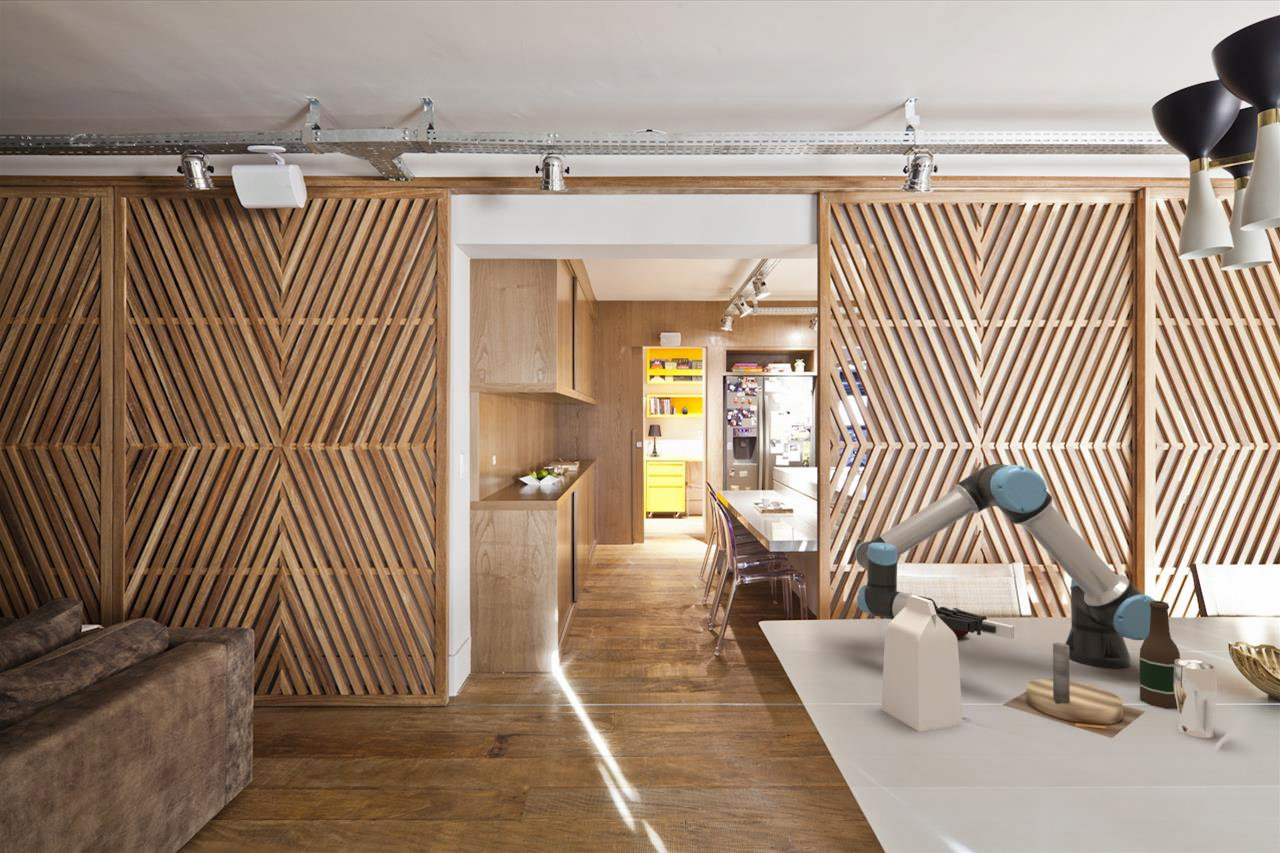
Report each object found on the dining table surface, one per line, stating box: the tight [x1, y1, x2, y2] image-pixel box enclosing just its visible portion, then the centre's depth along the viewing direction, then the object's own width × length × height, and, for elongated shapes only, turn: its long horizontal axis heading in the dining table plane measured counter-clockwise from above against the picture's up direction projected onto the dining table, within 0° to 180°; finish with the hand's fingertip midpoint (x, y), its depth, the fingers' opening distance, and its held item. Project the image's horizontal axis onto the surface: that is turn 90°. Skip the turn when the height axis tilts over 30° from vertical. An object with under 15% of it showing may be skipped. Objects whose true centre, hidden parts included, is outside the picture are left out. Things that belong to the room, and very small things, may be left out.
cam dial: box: [1025, 642, 1124, 725], centre depth 148 cm, size 18×18×15 cm
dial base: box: [1002, 691, 1146, 739], centre depth 148 cm, size 21×21×2 cm
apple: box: [951, 629, 969, 639], centre depth 205 cm, size 7×8×8 cm
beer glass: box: [1173, 658, 1218, 739], centre depth 137 cm, size 7×7×15 cm
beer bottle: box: [1139, 600, 1181, 710], centre depth 152 cm, size 8×8×24 cm
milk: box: [880, 594, 964, 732], centre depth 147 cm, size 12×12×26 cm
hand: (1012, 632), depth 152 cm, fingers closed
